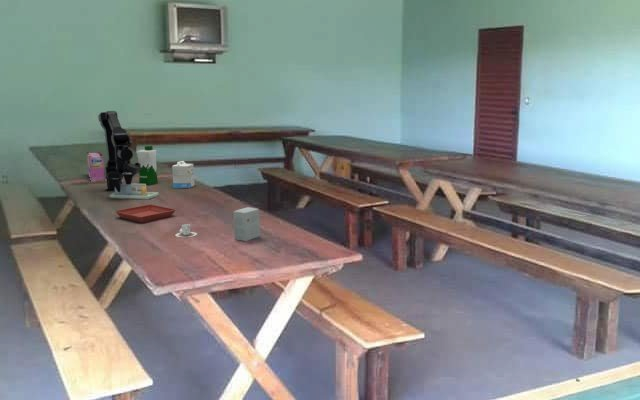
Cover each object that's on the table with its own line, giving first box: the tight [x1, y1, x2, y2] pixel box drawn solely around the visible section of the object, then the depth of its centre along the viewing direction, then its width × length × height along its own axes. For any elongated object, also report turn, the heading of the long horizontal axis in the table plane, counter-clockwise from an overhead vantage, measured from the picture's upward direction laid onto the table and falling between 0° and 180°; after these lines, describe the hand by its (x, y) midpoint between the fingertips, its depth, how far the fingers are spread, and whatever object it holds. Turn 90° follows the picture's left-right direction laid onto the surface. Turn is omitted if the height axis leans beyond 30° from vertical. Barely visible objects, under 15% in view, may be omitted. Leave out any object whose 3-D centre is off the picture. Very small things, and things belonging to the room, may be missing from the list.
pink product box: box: [86, 151, 106, 181], centre depth 362 cm, size 24×8×14 cm, turn 23°
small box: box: [233, 206, 261, 242], centre depth 230 cm, size 8×6×10 cm
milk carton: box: [135, 145, 159, 186], centre depth 340 cm, size 9×9×20 cm
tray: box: [108, 191, 160, 201], centre depth 307 cm, size 21×10×2 cm, turn 77°
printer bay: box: [131, 183, 147, 192], centre depth 321 cm, size 9×10×3 cm
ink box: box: [171, 160, 195, 189], centre depth 331 cm, size 9×8×13 cm
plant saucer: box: [114, 204, 177, 223], centre depth 265 cm, size 18×18×3 cm
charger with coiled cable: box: [175, 223, 198, 238], centre depth 236 cm, size 9×8×4 cm
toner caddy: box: [114, 183, 148, 196], centre depth 307 cm, size 15×5×5 cm, turn 77°
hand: (124, 190), depth 308 cm, fingers open, 9 cm apart
